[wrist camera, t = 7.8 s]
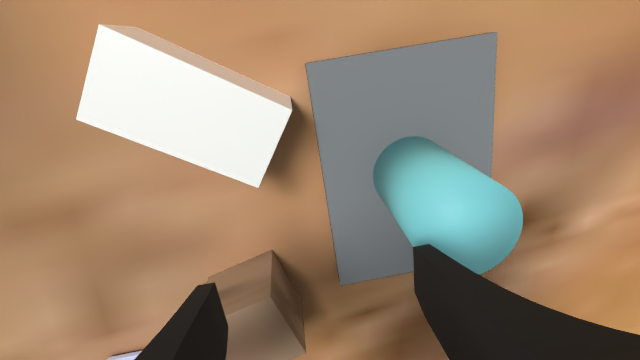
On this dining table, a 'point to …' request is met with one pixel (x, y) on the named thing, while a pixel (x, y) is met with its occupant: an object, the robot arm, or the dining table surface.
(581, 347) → the robot arm
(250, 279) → the walnut cube
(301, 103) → the dining table surface
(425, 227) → the teal capsule
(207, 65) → the offwhite brick
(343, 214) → the mat
